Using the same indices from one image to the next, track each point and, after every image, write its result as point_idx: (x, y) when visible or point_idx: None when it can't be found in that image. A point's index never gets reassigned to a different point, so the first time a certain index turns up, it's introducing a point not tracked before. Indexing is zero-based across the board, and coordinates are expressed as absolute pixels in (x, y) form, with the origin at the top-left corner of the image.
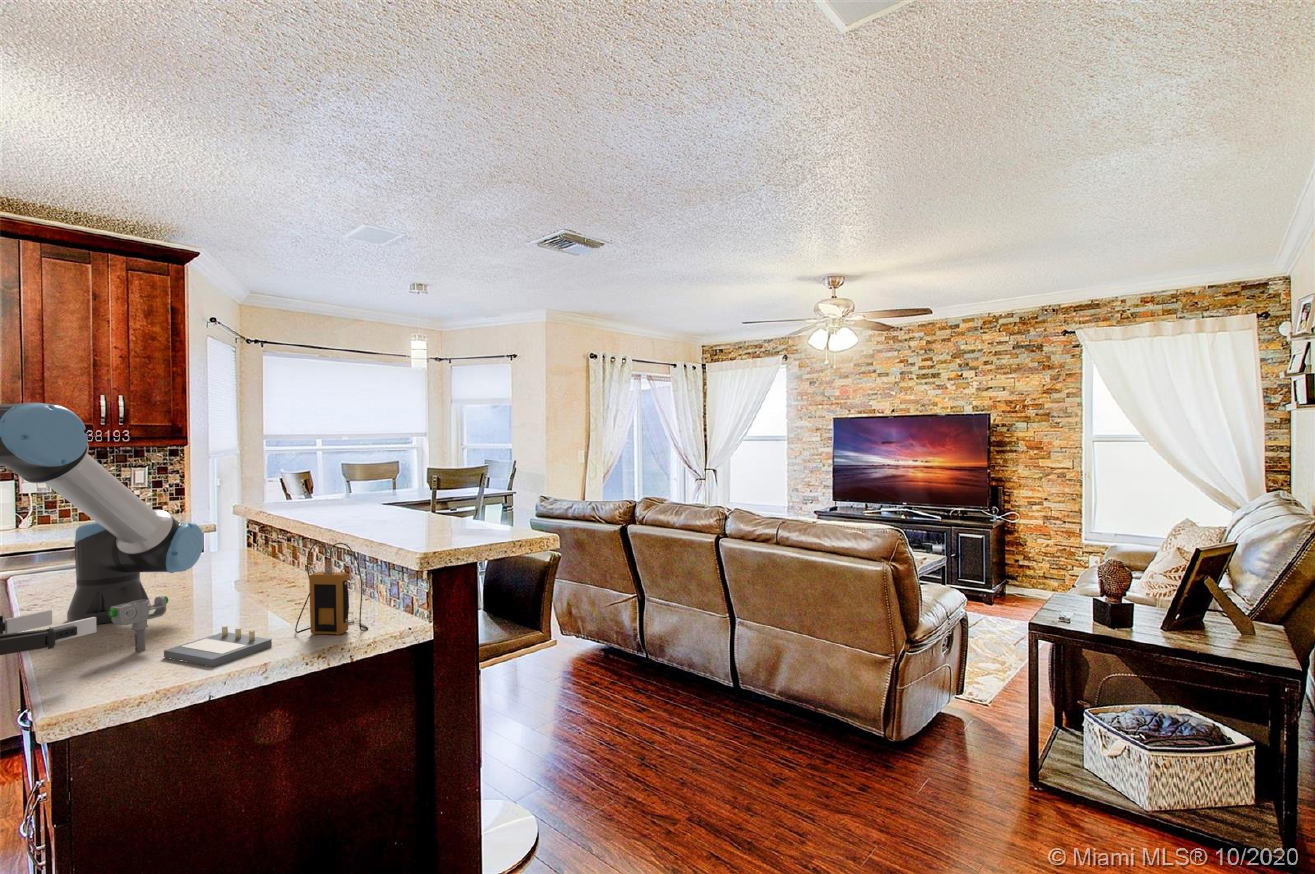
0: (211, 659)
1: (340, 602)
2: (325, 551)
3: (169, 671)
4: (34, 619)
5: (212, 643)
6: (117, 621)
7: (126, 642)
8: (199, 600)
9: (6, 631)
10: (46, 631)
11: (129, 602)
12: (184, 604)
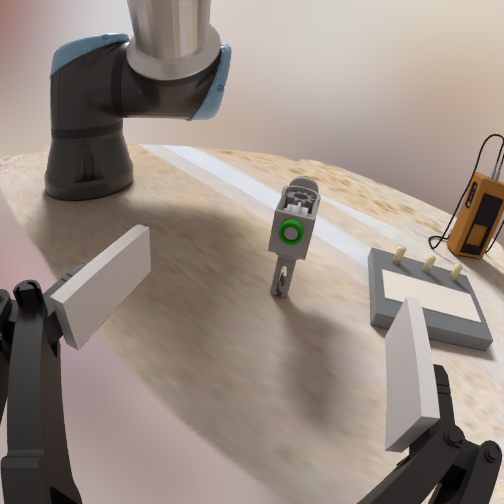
0: (490, 341)
1: (498, 222)
2: (501, 150)
3: (452, 375)
4: (121, 271)
5: (419, 287)
6: (291, 251)
7: (203, 257)
8: (171, 159)
9: (70, 339)
10: (458, 452)
11: (284, 194)
12: (161, 165)
